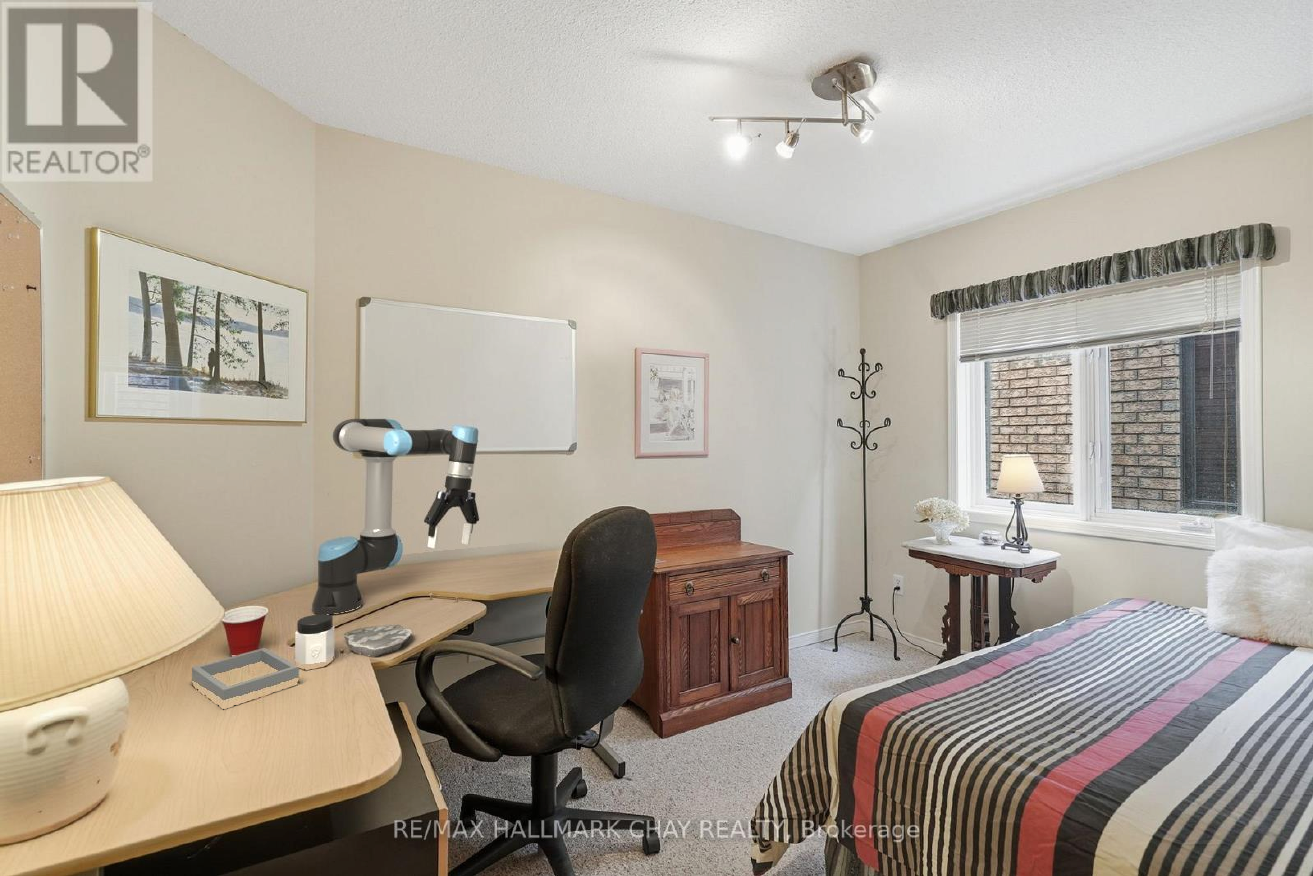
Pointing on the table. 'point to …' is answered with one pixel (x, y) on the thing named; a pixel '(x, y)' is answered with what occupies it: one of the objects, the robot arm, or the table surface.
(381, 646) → the grey stone slab
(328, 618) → the jar
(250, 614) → the plastic cup
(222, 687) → the bin
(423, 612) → the table surface
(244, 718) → the table surface
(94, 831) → the table surface
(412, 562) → the table surface
